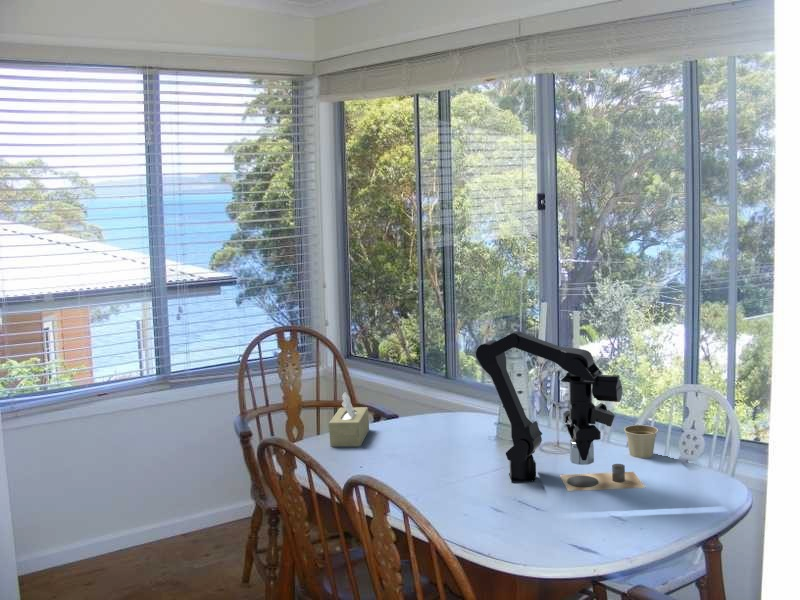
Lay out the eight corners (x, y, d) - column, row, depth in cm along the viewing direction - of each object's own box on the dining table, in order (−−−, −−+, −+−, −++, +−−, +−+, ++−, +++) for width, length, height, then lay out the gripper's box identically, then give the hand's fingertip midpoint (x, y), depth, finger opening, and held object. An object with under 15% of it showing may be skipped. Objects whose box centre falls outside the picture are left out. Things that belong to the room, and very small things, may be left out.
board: (568, 495, 215) (567, 476, 214) (559, 479, 227) (559, 460, 226) (645, 491, 215) (645, 472, 214) (633, 475, 227) (633, 457, 226)
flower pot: (660, 464, 235) (659, 434, 234) (625, 463, 237) (625, 434, 236) (656, 453, 244) (656, 424, 243) (623, 453, 246) (623, 424, 245)
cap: (572, 465, 217) (572, 442, 216) (568, 457, 223) (567, 435, 222) (595, 464, 217) (595, 441, 216) (590, 456, 223) (590, 434, 222)
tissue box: (341, 430, 285) (338, 385, 283) (369, 429, 283) (366, 384, 281) (330, 447, 266) (326, 399, 264) (360, 447, 265) (357, 398, 263)
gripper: (620, 406, 208) (621, 466, 210) (603, 388, 227) (604, 444, 229) (575, 408, 209) (577, 468, 211) (562, 390, 227) (563, 445, 229)
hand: (581, 456), depth 220 cm, fingers closed on cap, 6 cm apart
